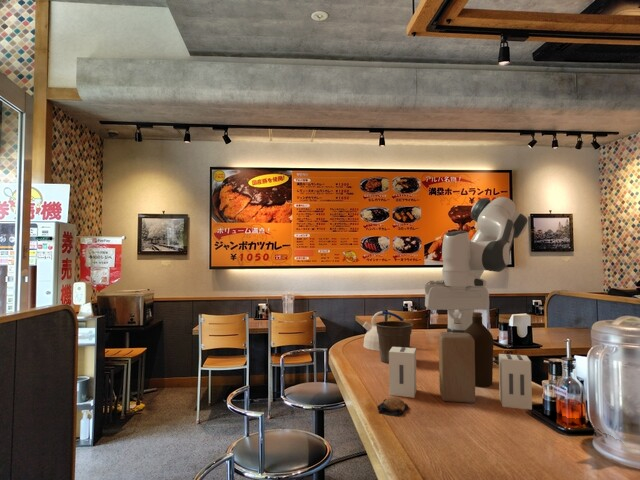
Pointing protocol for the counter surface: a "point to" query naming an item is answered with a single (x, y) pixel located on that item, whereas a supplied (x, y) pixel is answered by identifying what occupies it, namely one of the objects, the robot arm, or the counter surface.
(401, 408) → the bread roll
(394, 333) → the plant pot
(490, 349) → the olive oil
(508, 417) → the counter surface
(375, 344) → the kettle
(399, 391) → the marked block one
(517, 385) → the marked block two
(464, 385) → the block
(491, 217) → the robot arm
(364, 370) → the counter surface
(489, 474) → the counter surface
